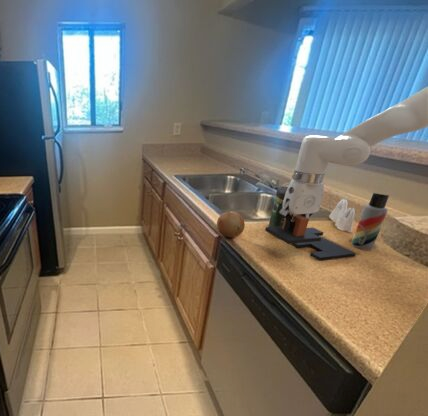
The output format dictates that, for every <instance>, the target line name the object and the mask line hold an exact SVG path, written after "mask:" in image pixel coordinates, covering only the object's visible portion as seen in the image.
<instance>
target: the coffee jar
mask: <svg viewBox="0 0 428 416" xmlns="http://www.w3.org/2000/svg"><path fill="white" fill-rule="evenodd" d="M287 189H288V186H282V185H281V187H278V188H277V190H276V192H275V196H274V202H273V206H272V211H271V214H270V219H269V221H268V222H269V223H268V226H267V227H276V226H283V222H284V219H285V217H284V216H283V215H282V214H280V213H279V212H280V210H281V209H282V205H283V200H284V197H285V194H286V191H287Z"/></svg>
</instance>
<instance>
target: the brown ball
mask: <svg viewBox="0 0 428 416" xmlns="http://www.w3.org/2000/svg"><path fill="white" fill-rule="evenodd" d="M245 227H246V225H245V220H244V218H243V216H242V215H241V214H240V213H238V212H237V211H226V212H223V213H222V214H220V215H219V217H218V218H217V220H216V228H217V230H218V232H219V234H221V235H222V236H223V237H226V238H235V237H238V236H240V235H242V233H243V232H244V231H245Z"/></svg>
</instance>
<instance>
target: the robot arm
mask: <svg viewBox="0 0 428 416" xmlns="http://www.w3.org/2000/svg"><path fill="white" fill-rule="evenodd" d="M426 128H428V85H427V86H426V87H424V88H422V89H421V90H419V91H417V92H415V93H413V94H412V95H410V96H408V97H406V98H405V99H403V100H401V101H400V102H398V103H396V104H394V105H392V106H391V107H389V108H386V109H385V110H383V111H381V112H380V113H377V114H375V115H373V116H371V117H369V118H367V119H366V120H363V121H362V122H360V123H359V124H356V125H355V126H354V127H352V128H350V129H348V130H347V131H345V132H344V133H342V134H340V135H339V136H337V137H336V138H332V137H331V136H327V135H326V136H324V135H307V136H305V137H304V138H303V139H302V141H301V145H300V148H299V152H298V155H297V160H296V164H295V168H294V172H293V174H292V175H291V178H292V180H290V182H289V184H288V186H287V187H288V189H287V191H286V194H285V197H284V200H283V205H282V209H281V210H280V212H279V213H280V214H282V215H283V216H284V217H285V219H286V222H285V226H284V230H285V231H287V232H289V233H293V231H294V227H295V223H296V222H294V221H295V218H296V216H297V215H298V214H299V215H301V216H304V217H306V218H308V219H309V218H310V217H311V216H312V215H314V214H315V213H318V212H319V211H320V210H321V209H320V208H321V205H322V201H323V196H324V189H325V183H324V182H323V181H324V177H325V175H326V170H327V169H328V168H327V167H328V165H329V163H330V164H336V165H341V166H346V167H351V166H357V165H360V164H363V163H364V162H365V161H367V160H368V158H370V155H371V148H372V147H374V146H375V145H377V144H380V143H381V142H384V141H385V140H388V139H390V138H394V137H396V136H400V135H403V134H408V133H414V132H417V131H420V130H423V129H426ZM290 214H292V216H291V215H290ZM309 220H310V219H309Z"/></svg>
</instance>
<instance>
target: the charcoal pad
mask: <svg viewBox="0 0 428 416" xmlns="http://www.w3.org/2000/svg"><path fill="white" fill-rule="evenodd" d="M320 237H321V236H320ZM290 245H291V246H292V247H295V248H296V249H303V248H311V249H313V250H314V251H311V252H310V253H309V256H310V257H312V258H313V259H315V260H317V261H318V262H321V261H329V260H337V259H338V260H339V259H344V258H345V259H347V258H353V257H356V254H357V253H356V252H354V251H352V250H350V249H348V248H346V247H343V246H341V245H339V244H338V243H335V242H333V241H332V240H329V239H328V238H325V237H323V236H322V237H321V241H313V242H304V243H294V244H290Z"/></svg>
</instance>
